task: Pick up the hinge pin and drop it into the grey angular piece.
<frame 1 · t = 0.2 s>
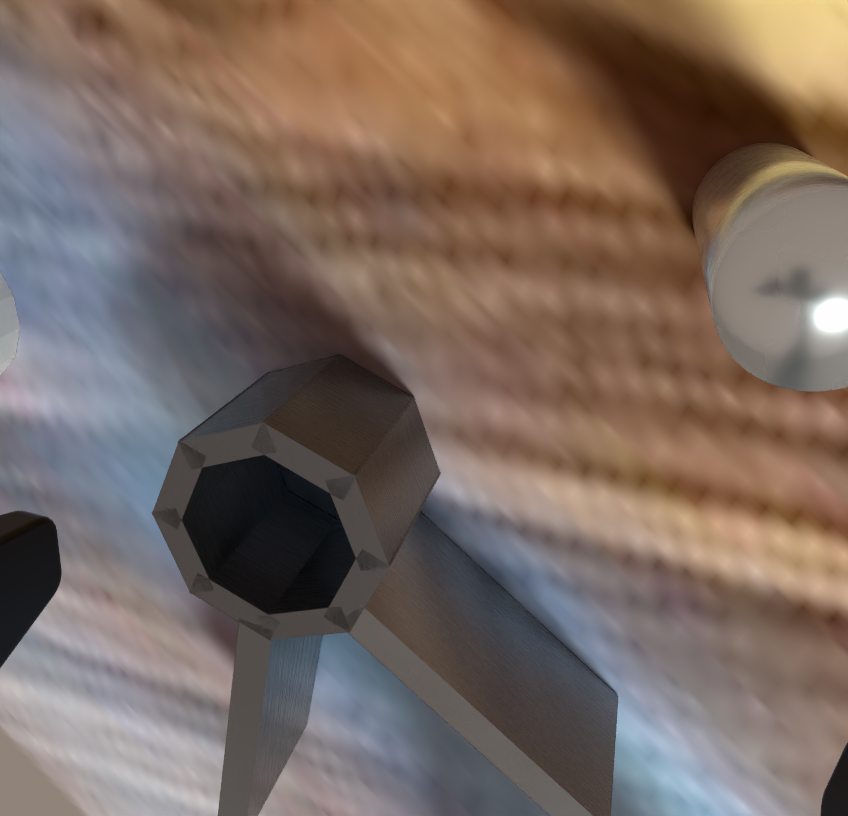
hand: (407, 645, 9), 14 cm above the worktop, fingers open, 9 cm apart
hinge pin: (758, 209, 18), on the worktop
grey angular piece: (338, 453, 24), on the worktop
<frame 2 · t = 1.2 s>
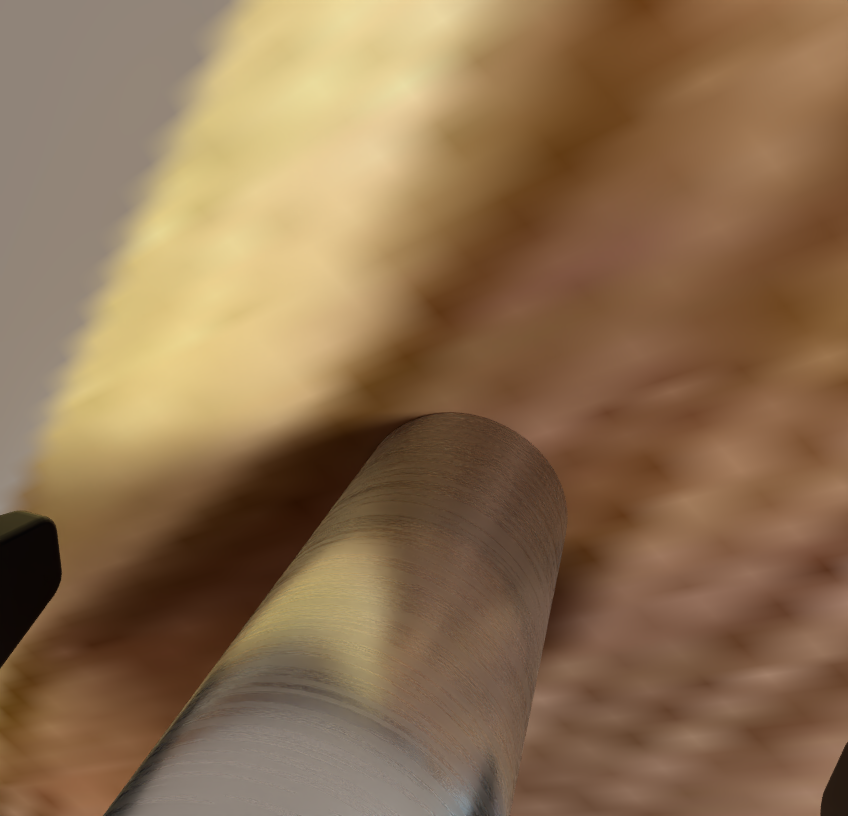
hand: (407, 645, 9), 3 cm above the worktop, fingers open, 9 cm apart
hinge pin: (461, 509, 11), on the worktop
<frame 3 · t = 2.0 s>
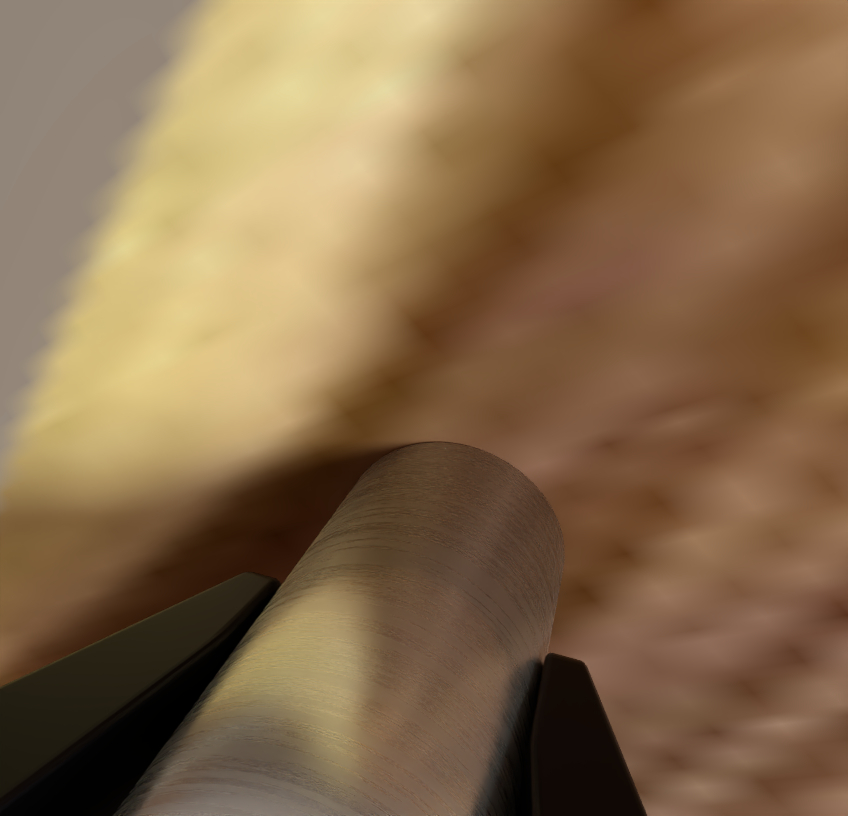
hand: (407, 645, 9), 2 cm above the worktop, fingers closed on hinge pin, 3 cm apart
hinge pin: (450, 544, 10), on the worktop, touching gripper
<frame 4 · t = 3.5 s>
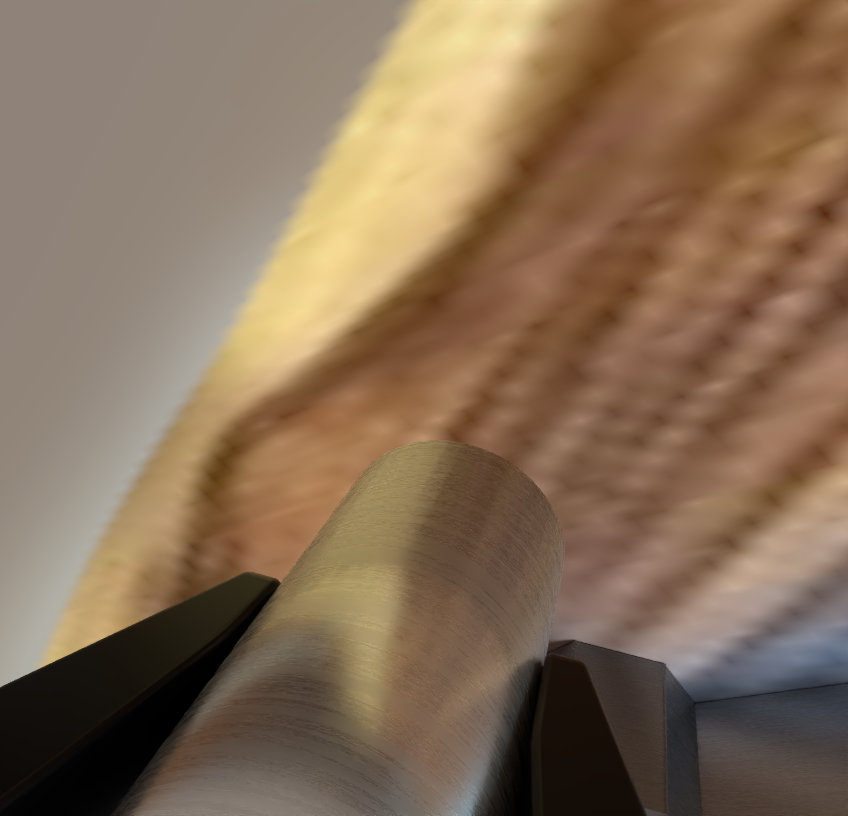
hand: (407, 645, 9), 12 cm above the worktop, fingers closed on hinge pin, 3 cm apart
hinge pin: (450, 542, 10), point 10 cm above the worktop, touching gripper
grey angular piece: (598, 729, 23), on the worktop
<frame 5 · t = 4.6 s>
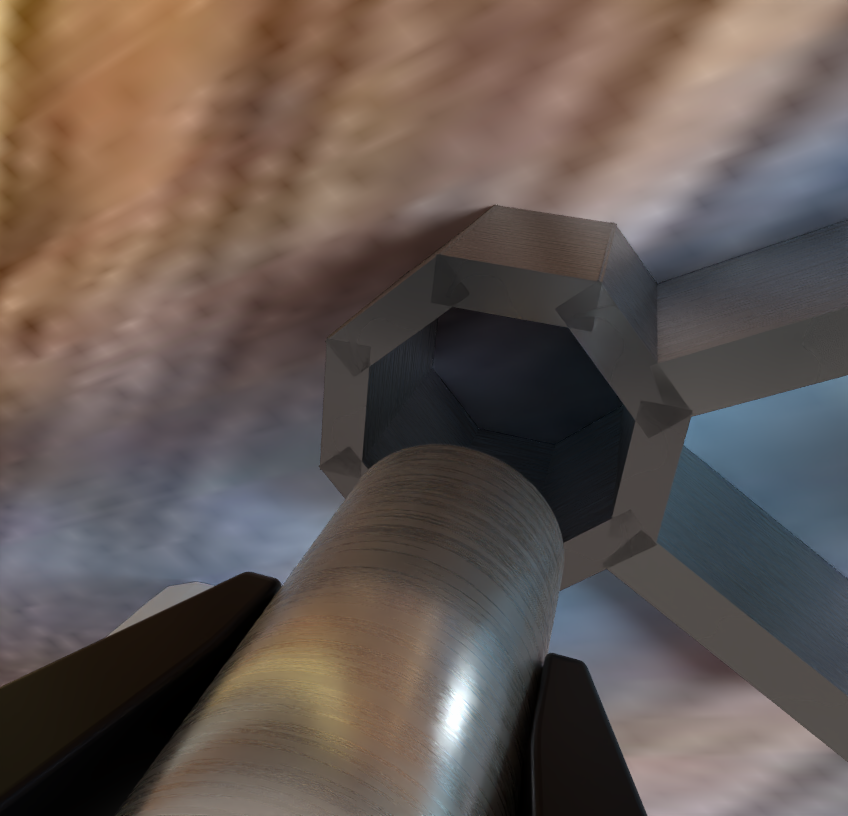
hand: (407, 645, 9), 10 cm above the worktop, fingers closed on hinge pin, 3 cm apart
hinge pin: (450, 546, 10), point 8 cm above the worktop, touching gripper
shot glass: (222, 652, 25), on the worktop
grey angular piece: (531, 349, 18), on the worktop
when the fingers open (8 cm above the worktop, at t = 5.1 s): hinge pin drops 6 cm, resting in grey angular piece.
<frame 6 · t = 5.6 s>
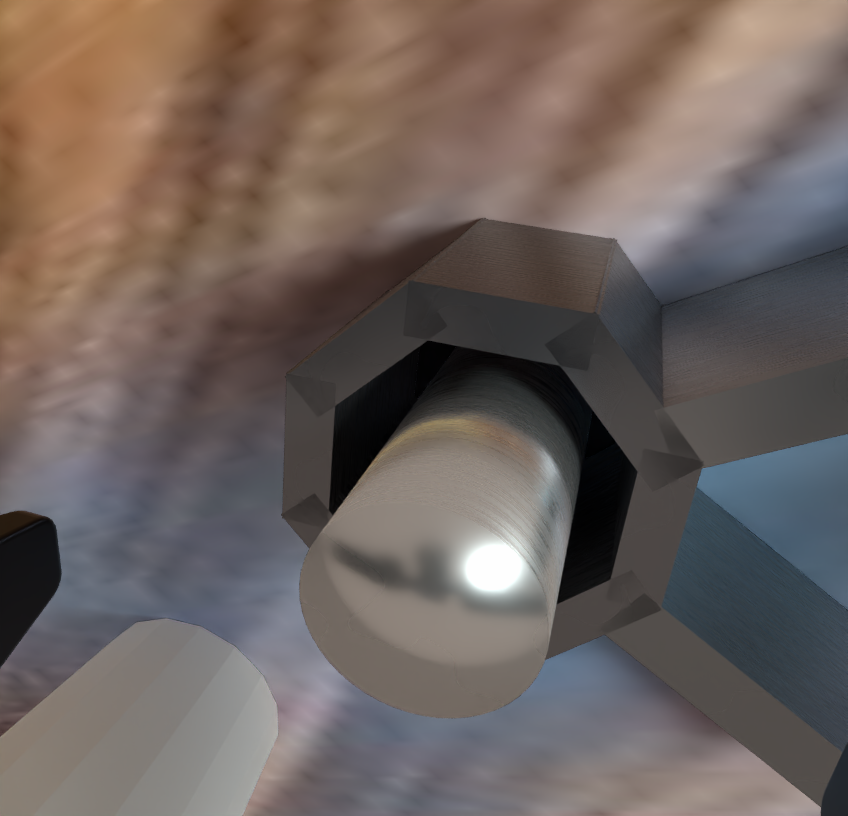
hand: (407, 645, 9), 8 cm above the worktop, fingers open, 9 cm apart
hinge pin: (524, 375, 16), resting in grey angular piece
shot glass: (194, 692, 23), on the worktop
grey angular piece: (523, 376, 16), on the worktop
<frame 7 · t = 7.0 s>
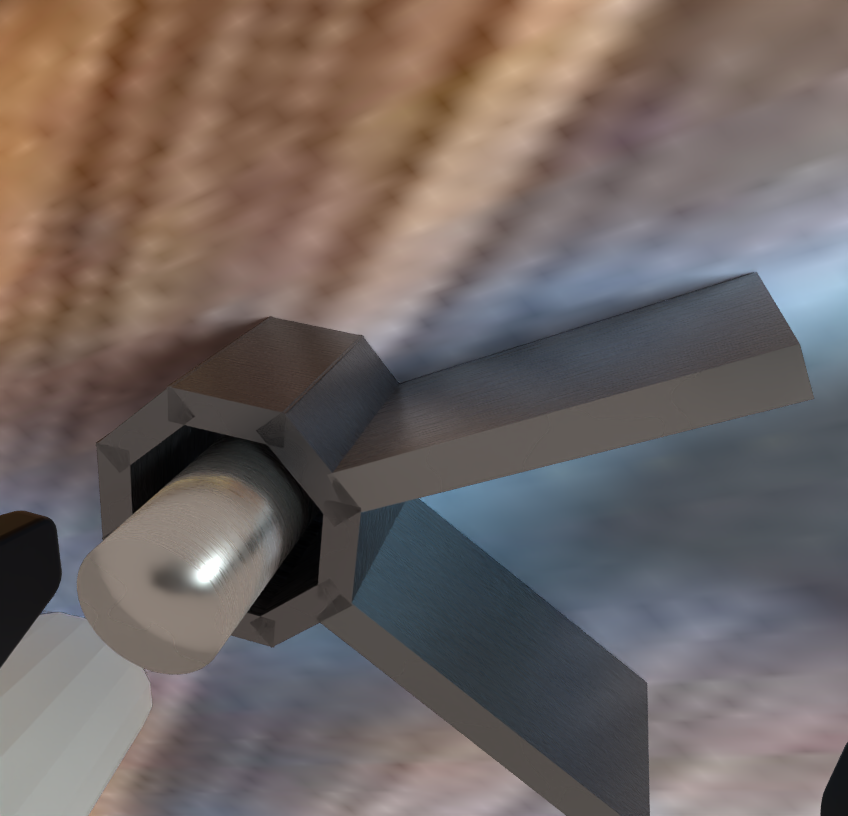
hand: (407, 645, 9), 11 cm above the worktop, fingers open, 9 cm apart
hinge pin: (310, 430, 21), resting in grey angular piece
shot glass: (85, 672, 28), on the worktop
grey angular piece: (309, 430, 21), on the worktop
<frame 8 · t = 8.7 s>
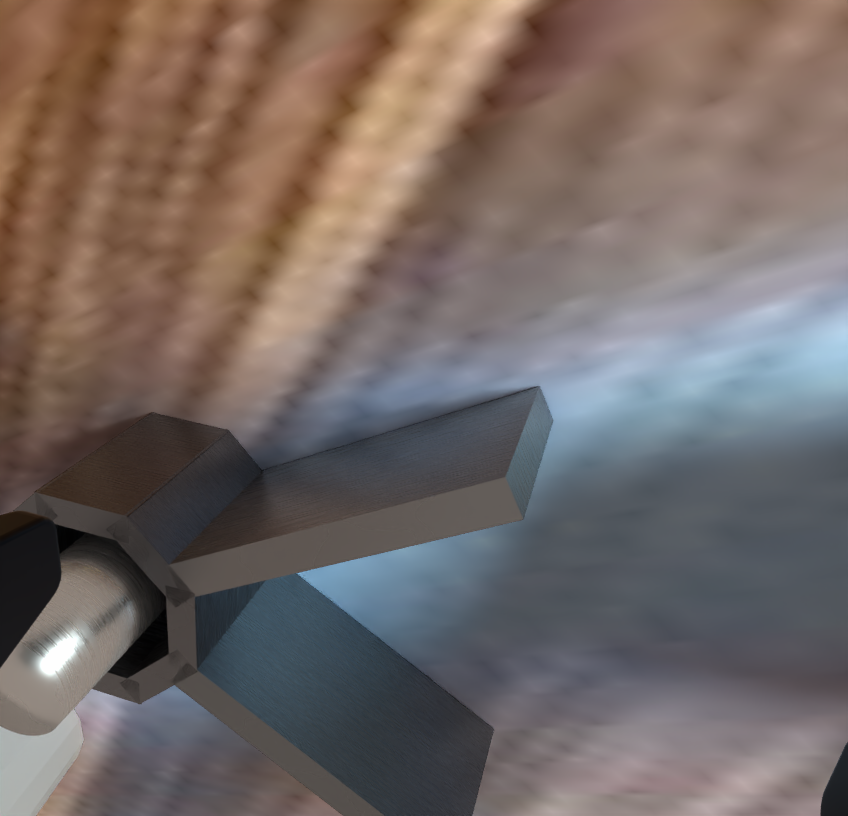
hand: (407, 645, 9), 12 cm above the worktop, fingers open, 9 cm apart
hinge pin: (193, 507, 25), resting in grey angular piece
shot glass: (26, 709, 31), on the worktop
grey angular piece: (192, 507, 25), on the worktop
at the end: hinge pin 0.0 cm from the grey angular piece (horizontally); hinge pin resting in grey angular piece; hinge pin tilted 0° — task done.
